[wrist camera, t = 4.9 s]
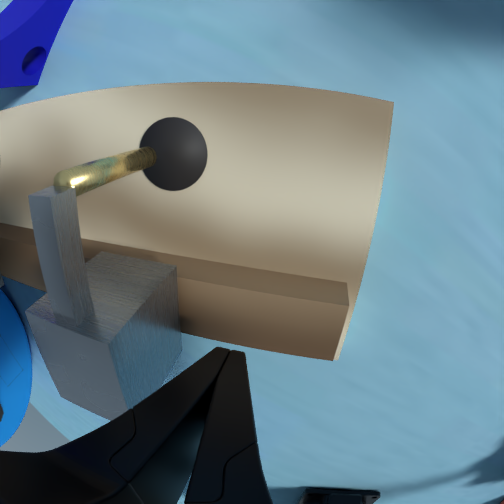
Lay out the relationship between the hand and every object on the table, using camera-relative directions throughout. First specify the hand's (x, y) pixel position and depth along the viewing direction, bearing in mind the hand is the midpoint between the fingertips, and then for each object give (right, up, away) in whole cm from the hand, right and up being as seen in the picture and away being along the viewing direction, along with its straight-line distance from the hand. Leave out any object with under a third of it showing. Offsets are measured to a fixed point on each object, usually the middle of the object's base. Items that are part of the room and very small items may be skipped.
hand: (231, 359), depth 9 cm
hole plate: (-6, +5, +4) cm, 9 cm away
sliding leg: (-3, +3, +2) cm, 5 cm away
